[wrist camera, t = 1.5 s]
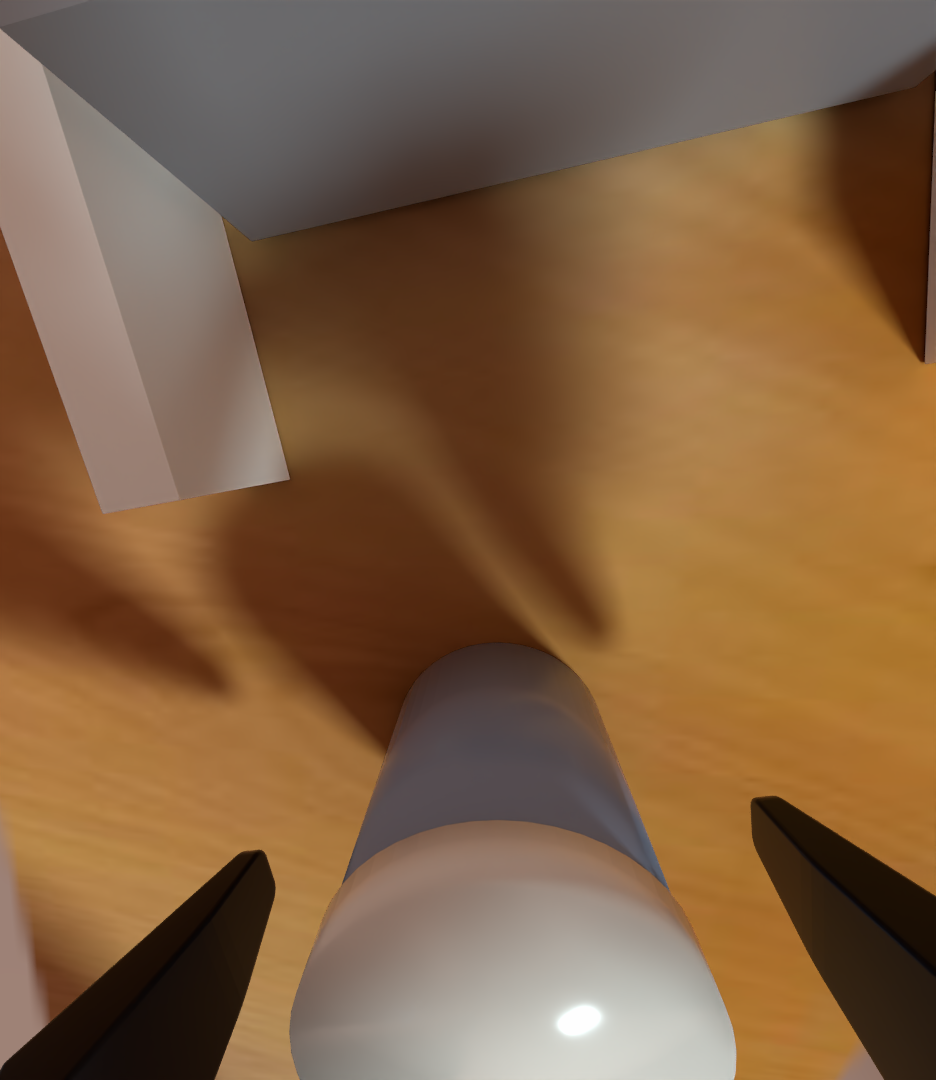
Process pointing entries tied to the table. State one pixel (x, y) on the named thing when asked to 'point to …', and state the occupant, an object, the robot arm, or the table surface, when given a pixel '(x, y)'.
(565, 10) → the pusher
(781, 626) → the table surface
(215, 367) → the lane
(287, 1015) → the table surface
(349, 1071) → the jar
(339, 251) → the table surface
